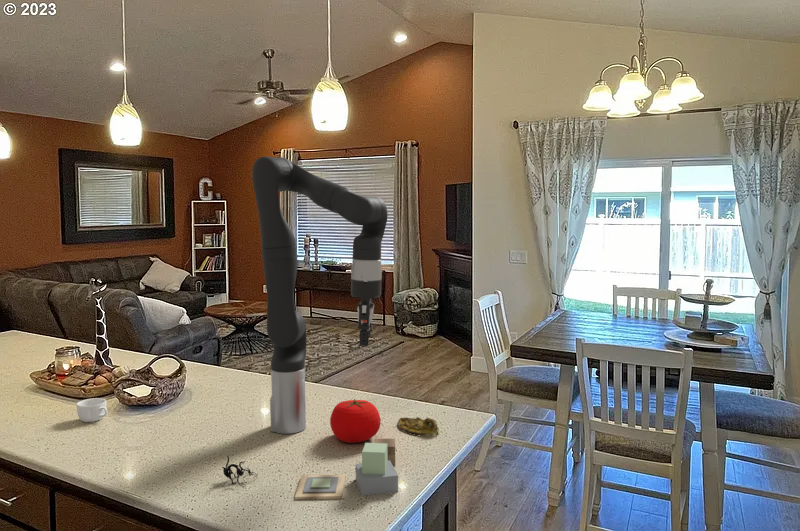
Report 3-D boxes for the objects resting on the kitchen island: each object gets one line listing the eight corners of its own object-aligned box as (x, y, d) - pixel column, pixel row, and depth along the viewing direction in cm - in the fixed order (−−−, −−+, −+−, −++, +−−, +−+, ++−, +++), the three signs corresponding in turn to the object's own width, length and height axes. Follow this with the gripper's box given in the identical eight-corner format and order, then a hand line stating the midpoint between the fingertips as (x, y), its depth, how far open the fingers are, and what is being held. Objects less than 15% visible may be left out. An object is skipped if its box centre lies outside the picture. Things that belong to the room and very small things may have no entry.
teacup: (71, 422, 170) (70, 404, 170) (94, 414, 177) (93, 396, 177) (95, 427, 166) (94, 409, 166) (118, 418, 173) (117, 400, 173)
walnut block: (374, 467, 140) (374, 446, 140) (374, 458, 145) (374, 438, 145) (395, 466, 140) (395, 446, 140) (395, 458, 145) (394, 438, 145)
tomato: (321, 436, 159) (320, 398, 158) (360, 425, 167) (360, 389, 166) (349, 453, 148) (348, 413, 147) (390, 441, 156) (390, 402, 155)
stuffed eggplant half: (387, 430, 167) (427, 444, 156) (386, 415, 166) (426, 427, 156) (410, 418, 173) (449, 431, 163) (408, 403, 173) (448, 415, 162)
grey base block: (361, 497, 126) (361, 479, 126) (355, 480, 134) (355, 463, 133) (397, 493, 128) (397, 475, 127) (389, 476, 136) (389, 460, 135)
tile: (294, 499, 124) (294, 494, 124) (301, 477, 134) (301, 472, 134) (342, 498, 125) (342, 493, 125) (345, 477, 135) (345, 472, 134)
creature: (258, 476, 138) (224, 471, 137) (263, 455, 137) (228, 449, 137) (253, 492, 130) (217, 486, 129) (257, 469, 130) (221, 463, 129)
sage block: (362, 473, 128) (362, 451, 128) (365, 464, 133) (365, 442, 133) (384, 474, 128) (384, 452, 127) (387, 464, 133) (387, 443, 132)
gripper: (353, 273, 153) (352, 335, 154) (348, 280, 138) (347, 348, 140) (382, 274, 153) (381, 335, 154) (380, 281, 138) (378, 348, 140)
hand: (365, 341), depth 147 cm, fingers open, 8 cm apart
